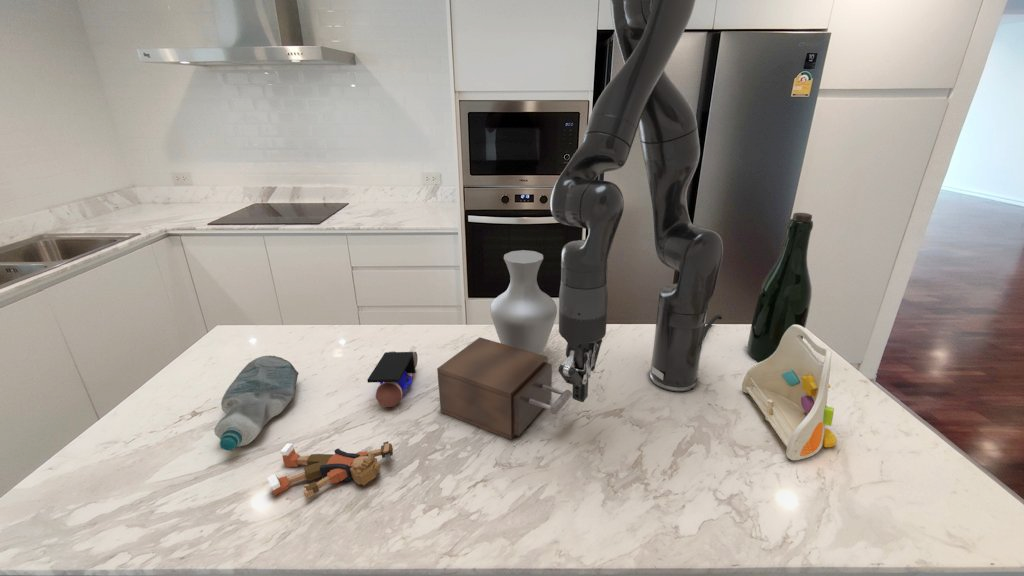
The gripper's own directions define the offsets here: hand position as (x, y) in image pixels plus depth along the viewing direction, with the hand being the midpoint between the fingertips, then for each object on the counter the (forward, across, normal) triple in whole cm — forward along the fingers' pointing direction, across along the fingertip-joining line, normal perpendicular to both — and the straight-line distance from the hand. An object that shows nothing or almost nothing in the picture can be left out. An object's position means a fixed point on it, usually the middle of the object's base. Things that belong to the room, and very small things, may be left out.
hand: (580, 398), depth 82 cm
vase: (+8, +17, +21) cm, 28 cm away
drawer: (+7, 0, +13) cm, 15 cm away
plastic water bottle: (+7, -26, +55) cm, 61 cm away
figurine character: (+8, -6, +38) cm, 39 cm away
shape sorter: (+9, +22, -32) cm, 40 cm away
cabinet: (+8, 0, +18) cm, 19 cm away
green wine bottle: (+9, +47, -27) cm, 55 cm away
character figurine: (+7, -29, +30) cm, 42 cm away
